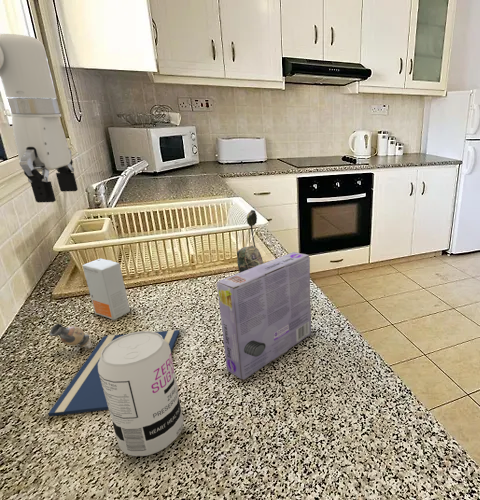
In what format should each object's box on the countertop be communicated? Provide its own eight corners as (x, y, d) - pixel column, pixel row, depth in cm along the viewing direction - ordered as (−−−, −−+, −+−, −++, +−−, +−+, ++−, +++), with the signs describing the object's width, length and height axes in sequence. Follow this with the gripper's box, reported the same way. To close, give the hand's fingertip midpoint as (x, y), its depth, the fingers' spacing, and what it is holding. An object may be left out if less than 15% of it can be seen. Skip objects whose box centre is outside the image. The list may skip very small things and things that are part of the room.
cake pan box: (298, 323, 80) (296, 247, 74) (316, 332, 78) (315, 253, 71) (224, 371, 66) (213, 281, 59) (243, 383, 63) (233, 290, 56)
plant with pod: (229, 293, 92) (220, 215, 85) (261, 277, 101) (256, 205, 94) (253, 302, 88) (246, 222, 81) (284, 284, 97) (281, 210, 90)
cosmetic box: (94, 314, 82) (81, 264, 77) (112, 305, 85) (100, 257, 81) (113, 320, 80) (101, 270, 75) (131, 311, 83) (120, 262, 79)
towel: (49, 416, 55) (47, 413, 55) (104, 338, 74) (103, 335, 73) (150, 404, 58) (149, 401, 58) (179, 332, 76) (179, 329, 76)
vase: (58, 362, 67) (49, 334, 64) (55, 348, 70) (46, 321, 68) (93, 350, 70) (86, 323, 68) (88, 337, 74) (81, 311, 72)
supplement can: (123, 422, 55) (100, 336, 49) (184, 406, 58) (169, 323, 52) (115, 468, 48) (88, 374, 42) (184, 447, 51) (167, 357, 46)
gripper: (37, 107, 79) (58, 187, 85) (-19, 109, 63) (12, 207, 69) (77, 108, 80) (95, 187, 86) (32, 110, 64) (58, 206, 71)
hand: (58, 196), depth 78 cm, fingers open, 9 cm apart
